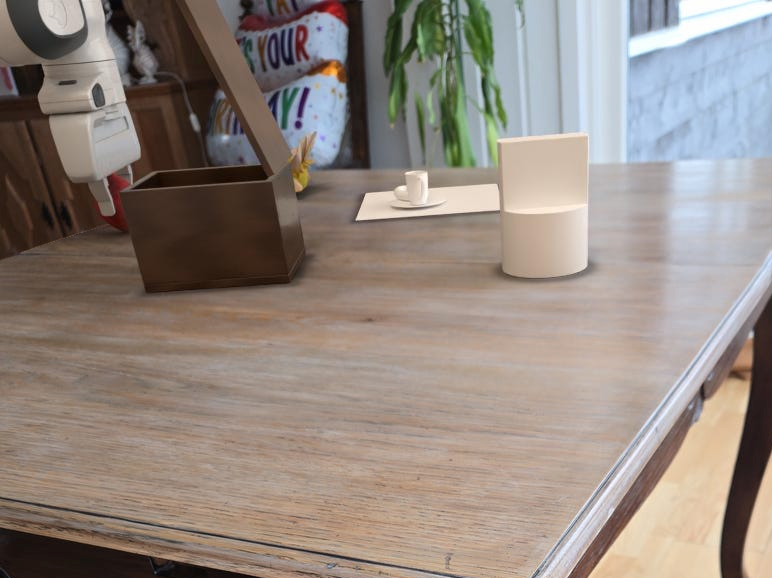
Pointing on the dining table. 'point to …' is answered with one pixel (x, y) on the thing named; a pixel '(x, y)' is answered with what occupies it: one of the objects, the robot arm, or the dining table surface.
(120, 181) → the onion
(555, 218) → the base with upright slab
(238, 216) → the chest
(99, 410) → the dining table surface
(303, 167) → the decorative flower
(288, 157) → the chest lid
